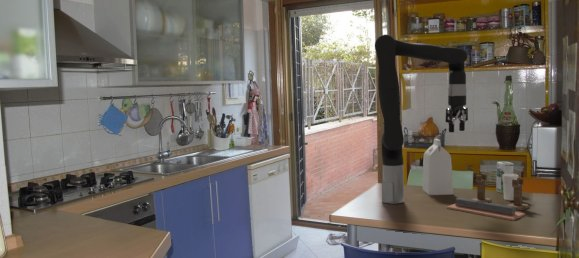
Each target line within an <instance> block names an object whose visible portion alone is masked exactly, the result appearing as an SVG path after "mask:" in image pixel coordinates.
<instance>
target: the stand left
mask: <svg viewBox="0 0 579 258" xmlns="http://www.w3.org/2000/svg"><path fill="white" fill-rule="evenodd" d="M487 176H488V175H487V173H480V175H478V174H476V175H475V183H477V184H476V185H477V186H476V189H477V191H476V195H477V196H476V197H474V198H471V199H470V200H476V201H482V202H489V203H492V200H493V199H492V198H488V197H486V182H487V180H488V179H487Z"/></svg>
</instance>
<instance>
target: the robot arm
mask: <svg viewBox="0 0 579 258" xmlns="http://www.w3.org/2000/svg"><path fill="white" fill-rule="evenodd" d="M374 50H375V52H376V58H377V62H378V63H377V64H378V77H377V78H378V80H377V86H378V87H377V88H378V89H377V90H378V99H379V106H380V109H381V110H380V111H381V113H382V114H381V115H382V118H383V133H382V135H381V159H382V181H381V202H382V203H385V204H391V205H395V204H402V203H404V202H405V200H404V199H405V198H404V197H405V196H404V195H405V194H404V193H405V192H404V190H405V189H404V187H405V186H404V183H405V182H404V157H403V155H404V154H403V146H404V145H403V144H404V143H405V137H404V134H403V133H404V132H403V127H402V123H401V122H402V120H401V92H400V83H399V77H398V72H397V65H396V57H398V56H400V57H408V58H413V59H418V60H423V61H428V62H437V63H441V62H442V63H446V64H447V63H448V72H449V73H448V75H449V76H448V88H447V98H448V99H447V105H448V106H450V108H446V109H445V120H444V121H445V123H447V124H448V132H449V133H455V122H456V120H458V123H459V127H458V129H459V132H464V131H465V129H466V128H465V127H466V125H465V124H466V122H468V121H469V113H468V112H469V110H468V109H469V108H468V106H467V75H466V74H467V73H466V70H465V63H466V61H467V60H468V53H467V50H465V49H463V48H461V47H460V48H459V47H455V46H454V47H451V46H441V45H437V44H430V43H429V44H428V43H419V42H418V43H417V42H416V43H415V42H407V41H403V40H402V41H401V40H399V39H395V37H393V36H392V35H389V34H387V33H386V34H381V35H380V36H379V37H377V38H376V40H375V42H374ZM464 106H467V107H464Z"/></svg>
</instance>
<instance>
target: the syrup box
mask: <svg viewBox="0 0 579 258" xmlns="http://www.w3.org/2000/svg"><path fill="white" fill-rule="evenodd" d="M514 169H515V168H514V163H513V162H511V161H510V162H509V161H497V162H496V185H495V187H496V190H495V191H496V192H497V193H501V194H504V192H503V179H502V175H503V174H514Z"/></svg>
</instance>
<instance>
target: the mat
mask: <svg viewBox="0 0 579 258" xmlns="http://www.w3.org/2000/svg"><path fill="white" fill-rule="evenodd" d="M446 209H448V210H454V211H459V212H465V213H468V214H469V213H470V214H476V215H481V216H486V217H492V218H497V219H502V220H508V221H512V222H514V221H516V220H518V219H520V218H522V217H524V216H525V213H523V212H520V211H519V212H517V211H515V215H513V216H510V215H504V214H498V213H493V212H487V211H482V210H476V209H470V208H465V207H459V206H455V203H452V204H450V205H448V206H446Z"/></svg>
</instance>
